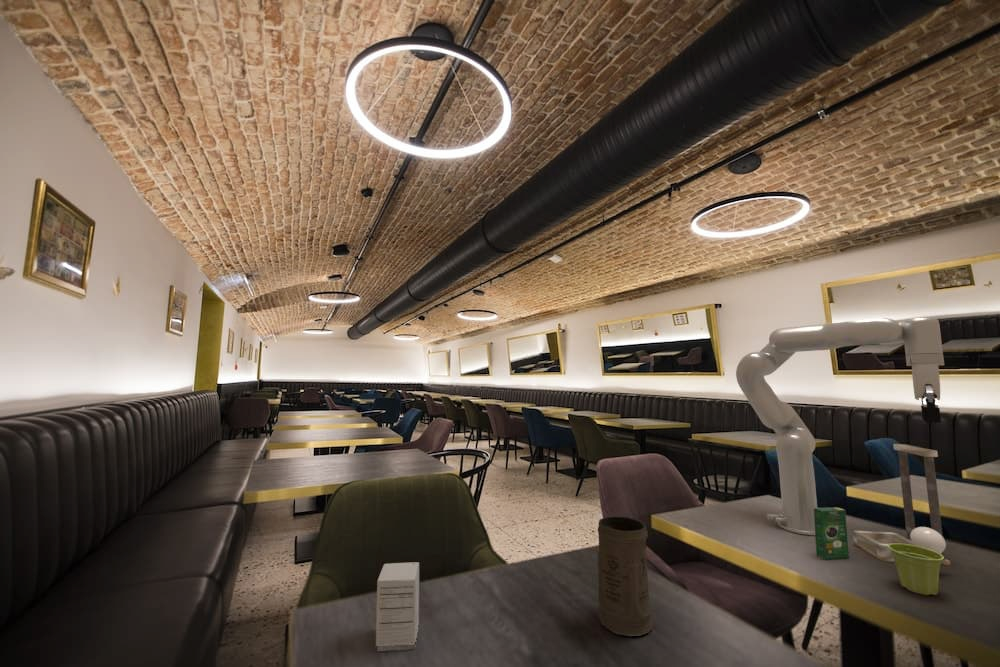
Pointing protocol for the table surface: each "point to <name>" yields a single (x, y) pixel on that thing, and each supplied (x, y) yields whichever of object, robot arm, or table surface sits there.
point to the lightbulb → (928, 539)
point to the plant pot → (917, 567)
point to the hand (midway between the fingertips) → (931, 420)
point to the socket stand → (905, 507)
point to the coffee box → (831, 533)
